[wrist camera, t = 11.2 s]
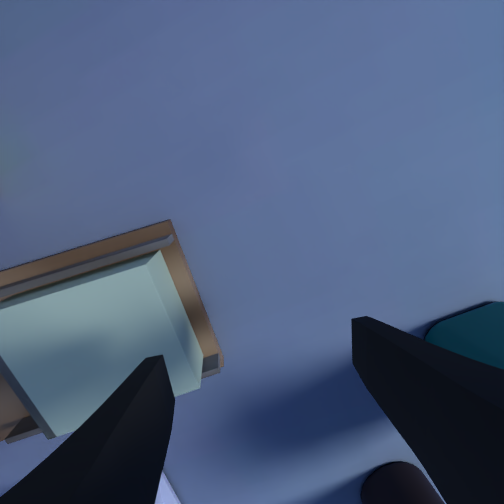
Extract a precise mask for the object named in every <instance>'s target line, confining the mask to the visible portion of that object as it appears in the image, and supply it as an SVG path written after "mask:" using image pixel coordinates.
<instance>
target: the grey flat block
mask: <svg viewBox="0 0 504 504" xmlns="http://www.w3.org/2000/svg"><path fill="white" fill-rule="evenodd" d="M162 354H163V356H164V360H165V364H166V367H167V371H168V375H169V379H170V382H171V386H172V390H173V393H174V397H176V396H179V395H182V394H185V393H188V392H191V391H194V390H197V389H200V384H201V374H202V364H203V353H202V350H201V348H200V346H199V343H198V341H197V338H196V336H195V333H194V331H193V329H192V326H191V324H190V321H189V319H188V316H187V314H186V312H185V309H184V307H183V304H182V302H181V299H180V297H179V295H178V292H177V290H176V287H175V285H174V282H173V280H172V278H171V275H170V273H169V270H168V268H167V265H166V263H165V261H164V258H163V256H162V253H161V251H160V250H157V251H154V252H151V253H148V254H145V255H141V256H138V257H135V258H132V259H128V260H125V261H122V262H119V263H116V264H112V265H109V266H106V267H103V268H99V269H96V270H93V271H90V272H87V273H83V274H80V275H77V276H74V277H70V278H67V279H64V280H61V281H58V282H54V283H51V284H48V285H45V286H41V287H38V288H35V289H32V290H28V291H25V292H22V293H19V294H16V295H13V296H11V297H9V298H7V299H5V300H3V301H1V302H0V373H1V374H2V376H3V377H4V379H5V380H6V381H7V383H8V384H9V386H10V387H11V388H12V390H13V391H14V393H15V394H16V396H17V397H18V398H19V400H20V401H21V403H22V404H23V405H24V407H25V408H26V410H27V411H28V412H29V414H30V415H31V417H32V418H33V419H34V421H35V422H36V424H37V425H38V427H39V428H40V429H41V431H42V432H43V434H44V435H45V436H46V438H47V439H48V440H49V439H52V438H55V437H58V436H61V435H63V434H66V433H69V432H72V431H75V430H77V429H78V428H79V427H80V426H81V425H82V424H83V423H84V422H85V421H86V420H87V419H88V418H89V417H90V416H91V415H92V414H93V413H94V412H95V411H96V410H97V409H98V408H99V407H100V406H101V405H102V404H103V403H104V402H105V401H106V400H107V399H108V397H109V396H110V395H111V394H112V393H113V392H114V391H115V390H116V389H117V388H118V387H119V386H120V385H121V384H122V382H123V381H124V380H125V379H126V378H127V377H128V376H129V375H130V374H131V373H132V372H133V371H134V369H135V368H136V367H137V366H138V365H139V364H140V363H141V362H142V361H143V360H144V359H145V358H146V357H152V356H157V355H162Z"/></svg>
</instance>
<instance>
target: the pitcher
mask: <svg viewBox="0 0 504 504" xmlns="http://www.w3.org/2000/svg"><path fill="white" fill-rule="evenodd" d="M425 341H427V342H429V343H432V344H434V345H437V346H439V347H442V348H444V349H447V350H449V351H452V352H455V353H457V354H460V355H463V356H465V357H468V358H471V359H473V360H476V361H479V362H482V363H485V364H488V365H491V366H494V367H497V368H500V369H503V370H504V302H493V303H490V304H487V305H485V306H482V307H479V308H476V309H474V310H471V311H468V312H465V313H463V314H460V315H457V316H454V317H451V318H449V319H446V320H443V321H440V322H438V323H437V324H436V325H434V326H433V327H432V328H431V329H430V330H429V332H428V333H427V335H426V337H425Z"/></svg>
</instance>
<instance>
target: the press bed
mask: <svg viewBox="0 0 504 504" xmlns="http://www.w3.org/2000/svg"><path fill="white" fill-rule="evenodd" d="M157 250H160V251H161V253H162V256H163V258H164V261H165V263H166V265H167V268H168V270H169V273H170V275H171V278H172V280H173V282H174V285H175V287H176V290H177V292H178V295H179V297H180V299H181V302H182V304H183V307H184V309H185V312H186V314H187V316H188V319H189V321H190V324H191V326H192V329H193V331H194V333H195V336H196V338H197V341H198V343H199V346H200V348H201V350H202V353H203V364H202V374H201V379H203V378H206V377H209V376H212V375H215V374H217V373H220V367H223V366H224V357H223V355H222V352H221V350H220V347H219V344H218V342H217V339H216V337H215V334H214V331H213V329H212V326H211V324H210V321H209V318H208V316H207V313H206V311H205V308H204V305H203V303H202V300H201V298H200V295H199V292H198V290H197V287H196V285H195V282H194V280H193V277H192V274H191V272H190V269H189V267H188V264H187V261H186V259H185V256H184V254H183V251H182V248H181V246H180V243H179V241H178V238H177V235H176V233H175V230H174V228H173V225H172V222H171V220H170V219H169V220H166V221H163V222H159V223H156V224H153V225H150V226H146V227H143V228H140V229H137V230H133V231H130V232H127V233H123V234H120V235H117V236H114V237H110V238H107V239H104V240H101V241H97V242H94V243H91V244H87V245H84V246H81V247H78V248H74V249H71V250H68V251H64V252H61V253H58V254H55V255H51V256H48V257H45V258H42V259H38V260H35V261H32V262H28V263H25V264H22V265H19V266H15V267H12V268H9V269H5V270H2V271H0V302H1V301H3V300H5V299H7V298H9V297H11V296H13V295H16V294H19V293H22V292H25V291H28V290H32V289H35V288H38V287H41V286H45V285H48V284H51V283H54V282H58V281H61V280H64V279H67V278H70V277H74V276H77V275H80V274H83V273H87V272H90V271H93V270H96V269H99V268H103V267H106V266H109V265H112V264H116V263H119V262H122V261H125V260H128V259H132V258H135V257H138V256H141V255H145V254H148V253H151V252H154V251H157ZM39 433H42V431H41V429H40V428H39V427H38V425H37V424H36V422H35V421H34V419H33V418H32V417H31V415H30V414H29V412H28V411H27V410H26V408H25V407H24V405H23V404H22V403H21V401H20V400H19V398H18V397H17V396H16V394H15V393H14V391H13V390H12V388H11V387H10V386H9V384H8V383H7V381H6V380H5V379H4V377H3V376H2V374H1V373H0V441H3V440H5V441H6V442H7V444H9V443H12V442H15V441H18V440H21V439H24V438H27V437H30V436H33V435H36V434H39Z"/></svg>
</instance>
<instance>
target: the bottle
mask: <svg viewBox="0 0 504 504" xmlns="http://www.w3.org/2000/svg"><path fill="white" fill-rule="evenodd" d="M361 499H362V504H445V503H444V502H443V501H442V499H441V498H440V496H439V495H438V494H437V492H436V491H435V489H434V488H433V486H432V485H431V484H430V482H429V481H428V479H427V478H426V477H425V475H424V474H423V472H422V471H421V470H420V469H419V468H417V467H416V466H414V465H413V464H408V463H404V462H399V463H392V464H389V465H385V466H383V467H381V468H380V469H378V470H376V471H375V472H374V473H373V474H372V475H370V476H369V477H368V479H367V480H366V482H365V483H364V485H363V488H362V492H361Z"/></svg>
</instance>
